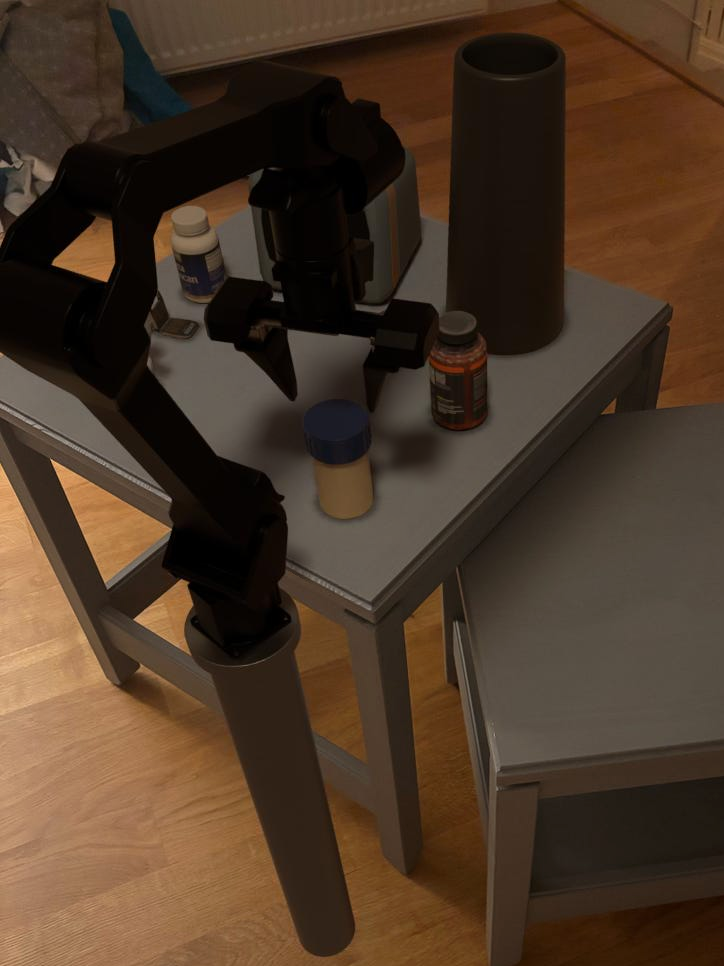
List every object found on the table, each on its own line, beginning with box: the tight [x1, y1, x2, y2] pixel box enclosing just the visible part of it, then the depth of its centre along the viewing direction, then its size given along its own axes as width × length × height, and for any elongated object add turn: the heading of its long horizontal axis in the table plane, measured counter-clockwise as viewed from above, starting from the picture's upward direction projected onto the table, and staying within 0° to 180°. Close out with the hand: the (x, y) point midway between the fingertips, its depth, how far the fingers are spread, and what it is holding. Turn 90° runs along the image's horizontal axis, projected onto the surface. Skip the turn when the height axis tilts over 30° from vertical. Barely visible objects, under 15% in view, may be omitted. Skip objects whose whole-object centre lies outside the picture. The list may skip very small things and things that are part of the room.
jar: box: [312, 451, 374, 520], centre depth 98 cm, size 5×5×10 cm
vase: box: [445, 31, 567, 356], centre depth 110 cm, size 14×14×29 cm
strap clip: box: [147, 289, 200, 339], centre depth 118 cm, size 8×3×4 cm, turn 75°
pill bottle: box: [170, 205, 228, 304], centre depth 121 cm, size 5×5×10 cm
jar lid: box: [302, 398, 373, 465], centre depth 95 cm, size 6×6×3 cm
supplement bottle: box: [428, 311, 489, 431], centre depth 106 cm, size 6×6×11 cm
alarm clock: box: [247, 144, 422, 304], centre depth 122 cm, size 16×16×16 cm
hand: (333, 404), depth 93 cm, fingers open, 7 cm apart
